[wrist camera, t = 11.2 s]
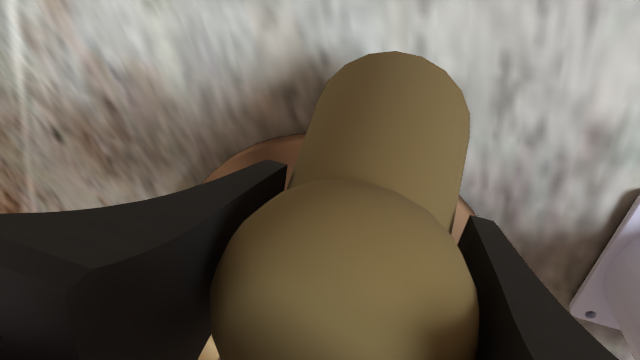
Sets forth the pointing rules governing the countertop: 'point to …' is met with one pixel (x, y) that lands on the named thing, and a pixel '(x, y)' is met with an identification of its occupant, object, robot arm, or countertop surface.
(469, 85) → the countertop surface
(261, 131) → the countertop surface
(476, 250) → the robot arm
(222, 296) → the olive pawn piece
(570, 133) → the countertop surface
